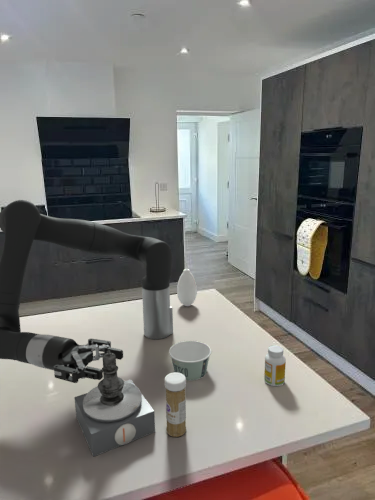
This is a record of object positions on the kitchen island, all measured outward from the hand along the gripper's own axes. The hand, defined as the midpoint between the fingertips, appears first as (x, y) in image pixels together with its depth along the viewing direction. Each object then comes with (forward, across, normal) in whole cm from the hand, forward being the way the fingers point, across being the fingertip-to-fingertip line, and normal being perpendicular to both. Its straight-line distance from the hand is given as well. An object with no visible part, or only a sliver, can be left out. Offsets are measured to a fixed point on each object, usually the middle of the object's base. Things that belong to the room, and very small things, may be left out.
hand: (112, 364), depth 83 cm
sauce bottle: (-9, +71, +16) cm, 73 cm away
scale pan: (-1, 0, +11) cm, 11 cm away
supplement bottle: (+32, +29, +16) cm, 46 cm away
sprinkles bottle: (+14, +3, +16) cm, 21 cm away
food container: (+8, +26, +16) cm, 32 cm away
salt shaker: (-1, 0, +9) cm, 9 cm away
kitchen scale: (-1, 0, +16) cm, 16 cm away
